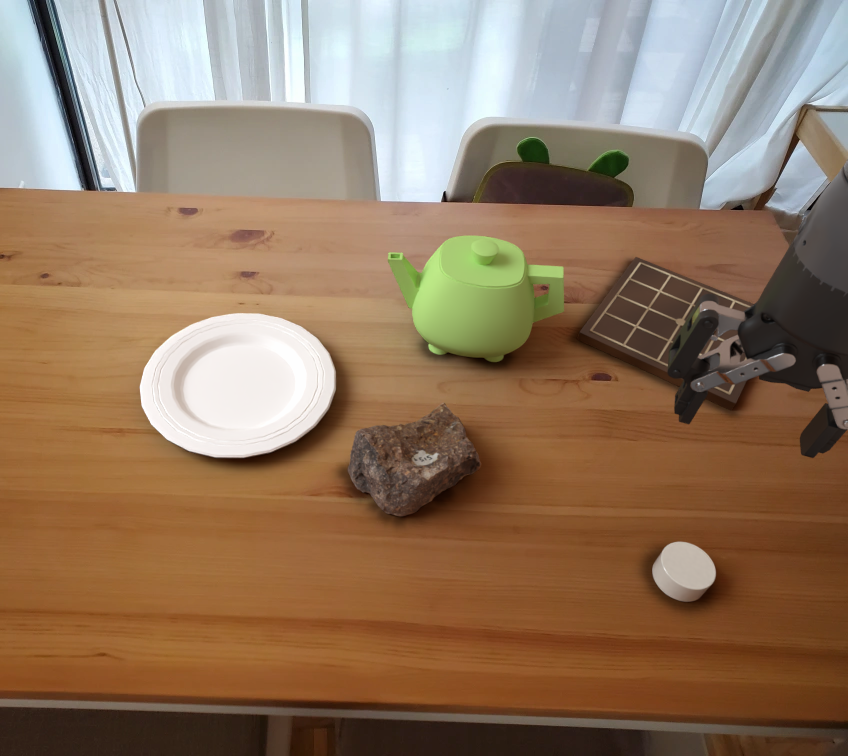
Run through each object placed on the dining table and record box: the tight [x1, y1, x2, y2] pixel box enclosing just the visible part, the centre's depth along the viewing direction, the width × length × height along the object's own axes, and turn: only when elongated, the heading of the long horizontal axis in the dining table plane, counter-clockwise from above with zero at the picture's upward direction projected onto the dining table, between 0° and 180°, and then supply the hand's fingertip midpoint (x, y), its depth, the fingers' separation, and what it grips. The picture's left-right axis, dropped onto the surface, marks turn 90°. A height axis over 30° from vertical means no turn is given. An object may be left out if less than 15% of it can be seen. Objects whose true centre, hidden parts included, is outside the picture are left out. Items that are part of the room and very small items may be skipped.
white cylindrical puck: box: [651, 541, 717, 603], centre depth 63 cm, size 5×5×2 cm
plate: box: [139, 312, 337, 459], centre depth 77 cm, size 21×21×2 cm
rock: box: [347, 402, 482, 517], centre depth 69 cm, size 13×8×6 cm, turn 120°
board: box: [576, 256, 755, 411], centre depth 86 cm, size 18×18×1 cm
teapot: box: [387, 235, 565, 363], centre depth 81 cm, size 20×13×13 cm
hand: (743, 431), depth 53 cm, fingers open, 8 cm apart
